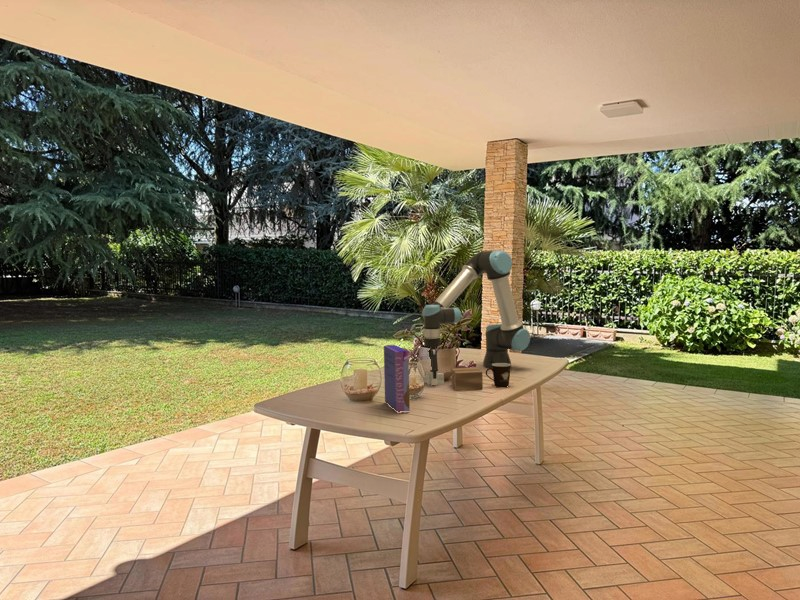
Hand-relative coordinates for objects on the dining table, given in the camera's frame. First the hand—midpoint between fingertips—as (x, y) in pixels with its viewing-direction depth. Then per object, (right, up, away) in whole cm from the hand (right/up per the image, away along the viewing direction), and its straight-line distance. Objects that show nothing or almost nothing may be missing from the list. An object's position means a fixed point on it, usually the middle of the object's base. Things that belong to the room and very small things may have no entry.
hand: (432, 382), depth 266 cm
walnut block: (+15, -1, -11) cm, 19 cm away
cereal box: (-17, -4, -44) cm, 47 cm away
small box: (+1, -1, 0) cm, 1 cm away
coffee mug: (+30, 0, -10) cm, 31 cm away
